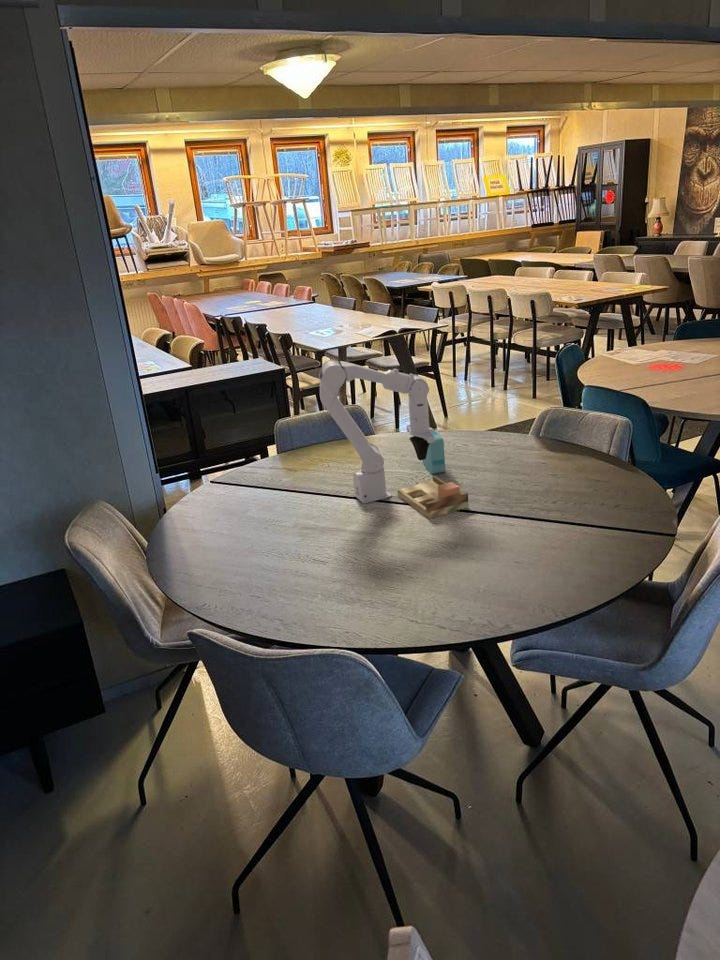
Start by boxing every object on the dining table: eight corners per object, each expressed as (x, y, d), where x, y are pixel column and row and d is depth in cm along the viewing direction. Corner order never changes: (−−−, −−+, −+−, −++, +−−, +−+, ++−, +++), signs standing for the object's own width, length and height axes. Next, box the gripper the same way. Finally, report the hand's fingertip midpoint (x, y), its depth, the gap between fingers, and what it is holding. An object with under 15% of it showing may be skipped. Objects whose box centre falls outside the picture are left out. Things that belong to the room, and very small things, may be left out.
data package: (445, 473, 220) (443, 438, 216) (432, 475, 220) (430, 440, 215) (435, 461, 231) (433, 428, 227) (422, 463, 231) (420, 430, 226)
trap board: (428, 518, 189) (427, 504, 188) (397, 495, 207) (396, 482, 205) (468, 507, 193) (467, 493, 192) (435, 486, 211) (434, 472, 209)
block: (446, 504, 192) (446, 490, 190) (438, 499, 196) (437, 485, 194) (460, 500, 194) (459, 486, 192) (451, 496, 197) (450, 481, 196)
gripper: (442, 419, 196) (445, 463, 201) (419, 408, 209) (422, 450, 214) (421, 424, 194) (424, 468, 199) (399, 413, 206) (402, 454, 211)
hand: (421, 459), depth 206 cm, fingers closed
